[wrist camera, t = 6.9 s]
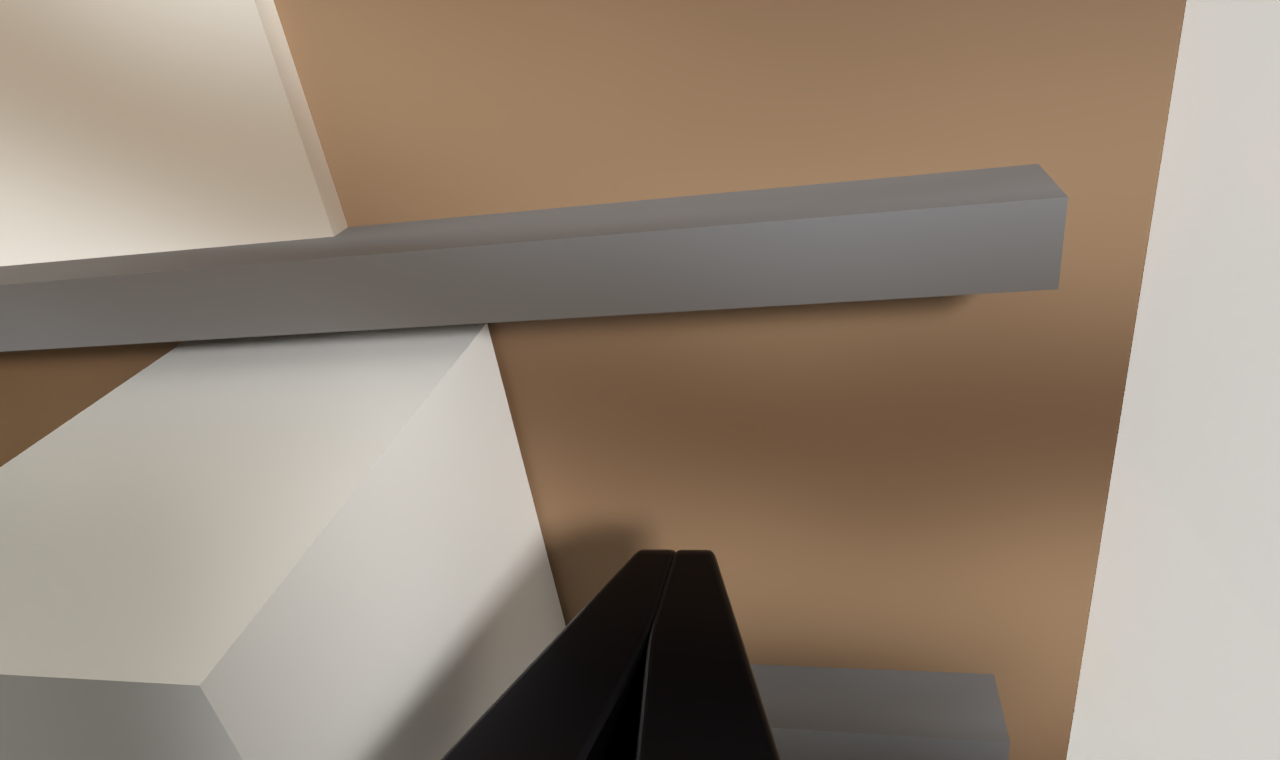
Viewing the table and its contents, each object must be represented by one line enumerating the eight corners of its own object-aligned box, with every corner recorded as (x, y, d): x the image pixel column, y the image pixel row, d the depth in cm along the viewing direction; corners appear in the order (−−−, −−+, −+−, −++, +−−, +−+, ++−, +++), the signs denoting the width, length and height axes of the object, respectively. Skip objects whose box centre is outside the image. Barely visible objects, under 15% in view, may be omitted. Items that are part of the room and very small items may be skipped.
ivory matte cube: (569, 642, 11) (426, 1076, 7) (208, 629, 13) (-92, 986, 9) (487, 322, 9) (199, 686, 5) (54, 348, 10) (-466, 647, 6)
